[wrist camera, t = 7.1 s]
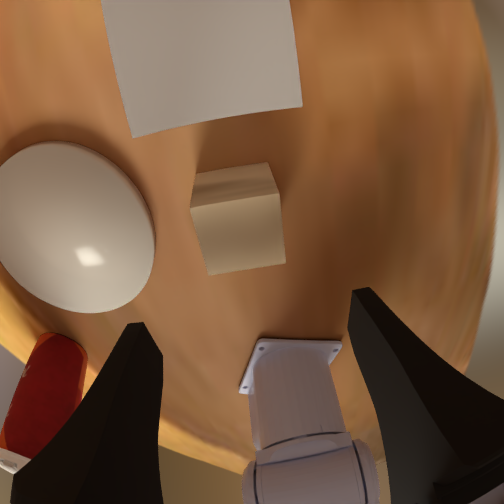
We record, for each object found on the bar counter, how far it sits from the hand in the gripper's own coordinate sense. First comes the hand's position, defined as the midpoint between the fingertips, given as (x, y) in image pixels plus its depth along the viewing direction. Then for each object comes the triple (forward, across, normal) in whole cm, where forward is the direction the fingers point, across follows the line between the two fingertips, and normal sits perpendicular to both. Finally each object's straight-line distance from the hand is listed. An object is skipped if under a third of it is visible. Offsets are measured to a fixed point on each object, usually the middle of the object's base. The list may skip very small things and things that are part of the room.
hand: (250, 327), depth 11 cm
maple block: (+9, 0, 0) cm, 9 cm away
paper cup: (+10, +20, +12) cm, 25 cm away
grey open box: (+9, 0, -9) cm, 13 cm away
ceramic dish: (+9, +12, 0) cm, 15 cm away
